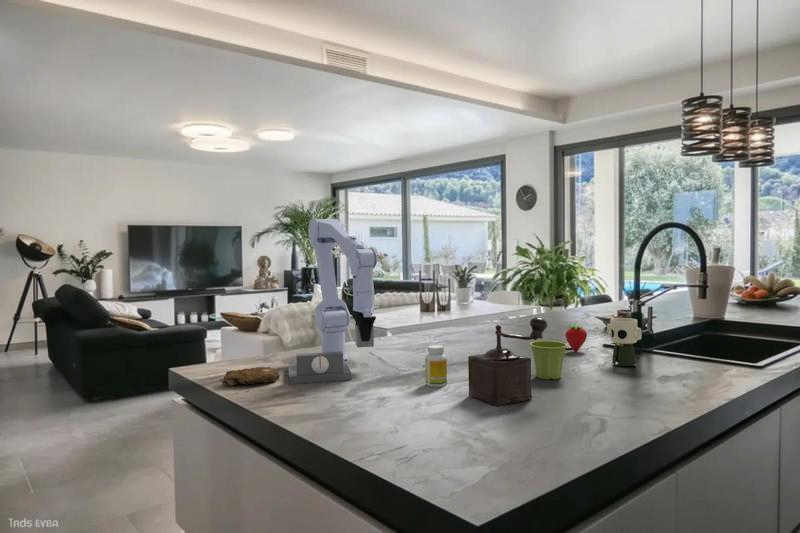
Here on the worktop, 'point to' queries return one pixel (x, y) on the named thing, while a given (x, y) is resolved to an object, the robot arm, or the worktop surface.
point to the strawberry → (576, 337)
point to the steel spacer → (359, 341)
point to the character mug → (624, 340)
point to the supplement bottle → (436, 366)
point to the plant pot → (548, 358)
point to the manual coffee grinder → (503, 371)
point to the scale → (318, 368)
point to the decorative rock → (250, 376)
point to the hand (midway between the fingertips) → (364, 339)
